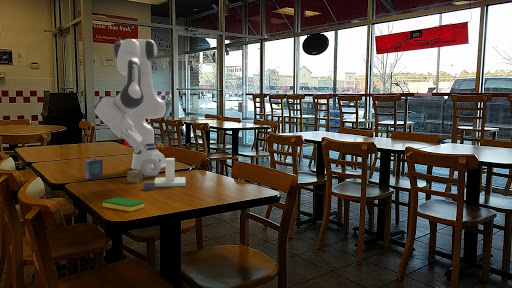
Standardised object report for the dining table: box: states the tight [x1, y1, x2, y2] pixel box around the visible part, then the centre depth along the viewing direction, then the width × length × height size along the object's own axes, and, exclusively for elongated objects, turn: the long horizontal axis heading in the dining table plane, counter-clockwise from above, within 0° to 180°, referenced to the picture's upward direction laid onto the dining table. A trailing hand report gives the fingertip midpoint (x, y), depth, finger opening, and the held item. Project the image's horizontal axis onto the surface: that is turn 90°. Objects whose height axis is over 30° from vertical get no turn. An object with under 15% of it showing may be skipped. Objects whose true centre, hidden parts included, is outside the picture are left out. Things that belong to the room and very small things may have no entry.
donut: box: [140, 157, 162, 178], centre depth 207 cm, size 10×3×10 cm, turn 114°
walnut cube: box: [126, 169, 143, 184], centre depth 195 cm, size 5×5×5 cm
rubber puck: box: [142, 180, 156, 191], centre depth 179 cm, size 5×5×3 cm
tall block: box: [164, 157, 176, 181], centre depth 191 cm, size 4×4×10 cm
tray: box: [154, 176, 186, 188], centre depth 191 cm, size 14×14×2 cm
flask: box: [84, 155, 104, 180], centre depth 202 cm, size 9×3×11 cm, turn 146°
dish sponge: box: [102, 196, 145, 212], centre depth 149 cm, size 7×14×2 cm, turn 63°
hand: (146, 150), depth 189 cm, fingers open, 8 cm apart
